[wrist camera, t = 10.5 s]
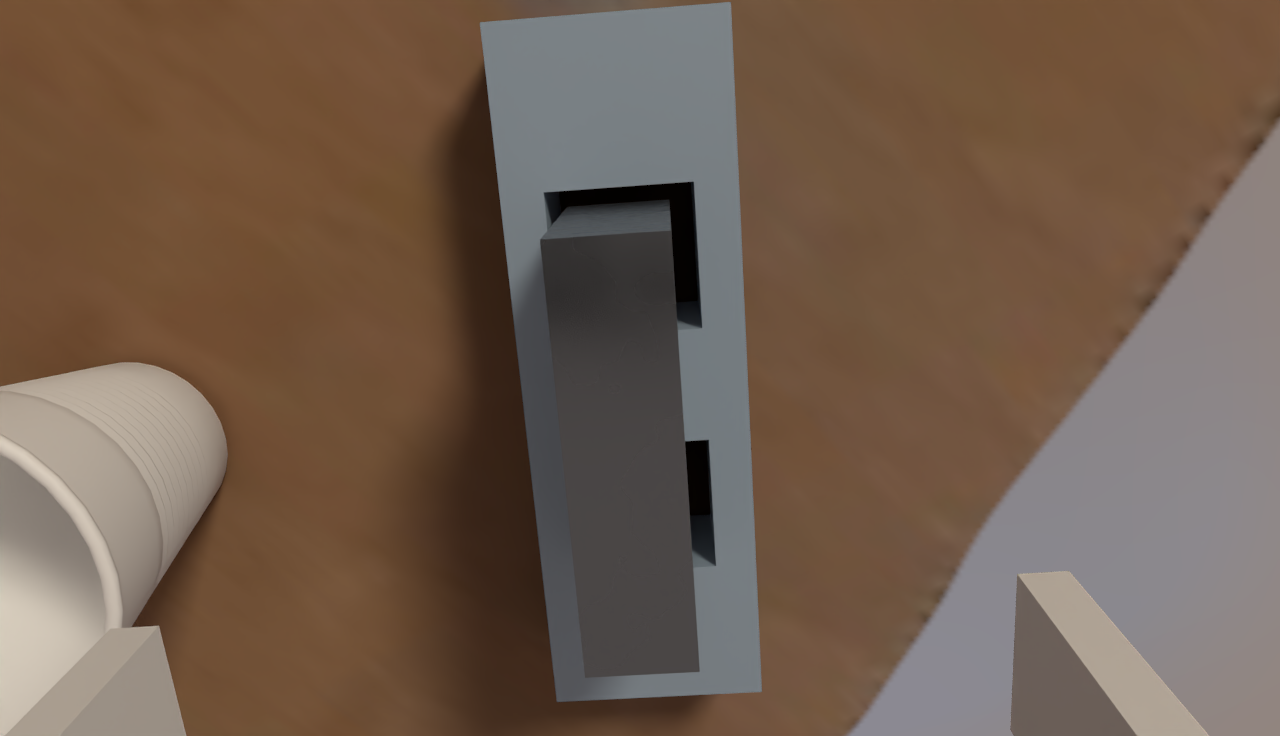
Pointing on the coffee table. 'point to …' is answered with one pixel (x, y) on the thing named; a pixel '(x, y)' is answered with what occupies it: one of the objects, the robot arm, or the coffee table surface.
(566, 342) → the clip
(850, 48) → the coffee table surface
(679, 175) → the grey block with hole
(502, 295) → the coffee table surface
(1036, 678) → the robot arm
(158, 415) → the cup
